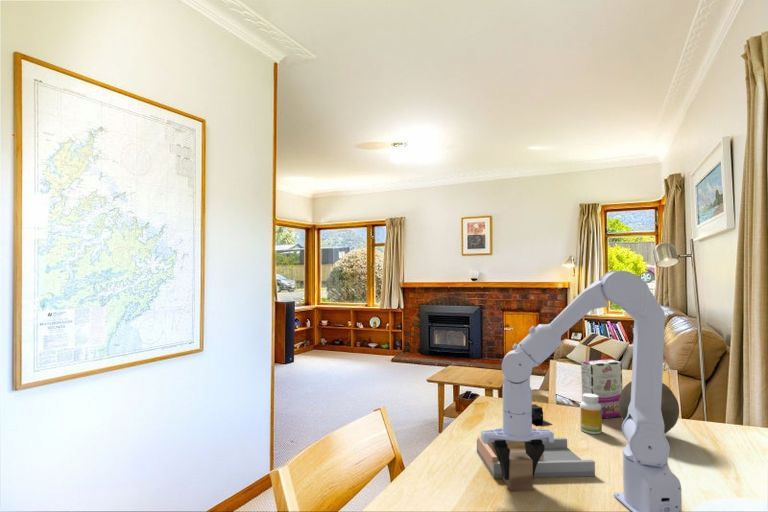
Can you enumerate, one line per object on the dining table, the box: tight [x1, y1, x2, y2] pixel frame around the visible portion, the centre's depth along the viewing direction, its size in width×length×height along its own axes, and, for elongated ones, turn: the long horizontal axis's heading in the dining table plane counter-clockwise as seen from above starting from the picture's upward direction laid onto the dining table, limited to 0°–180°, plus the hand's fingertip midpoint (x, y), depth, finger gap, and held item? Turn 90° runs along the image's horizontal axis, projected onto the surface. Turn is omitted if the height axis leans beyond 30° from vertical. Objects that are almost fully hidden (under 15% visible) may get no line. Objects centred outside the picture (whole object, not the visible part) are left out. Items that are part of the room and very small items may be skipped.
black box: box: [532, 403, 554, 427], centre depth 129 cm, size 12×7×5 cm, turn 17°
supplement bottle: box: [579, 393, 603, 435], centre depth 121 cm, size 5×5×10 cm
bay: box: [476, 436, 596, 479], centre depth 100 cm, size 14×22×4 cm, turn 93°
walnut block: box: [502, 451, 534, 492], centre depth 90 cm, size 4×4×6 cm
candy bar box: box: [580, 358, 623, 420], centre depth 133 cm, size 11×5×16 cm, turn 105°
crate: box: [488, 442, 544, 462], centre depth 100 cm, size 9×9×3 cm
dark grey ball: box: [619, 380, 680, 434], centre depth 116 cm, size 14×14×15 cm
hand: (517, 477), depth 90 cm, fingers closed on walnut block, 4 cm apart
